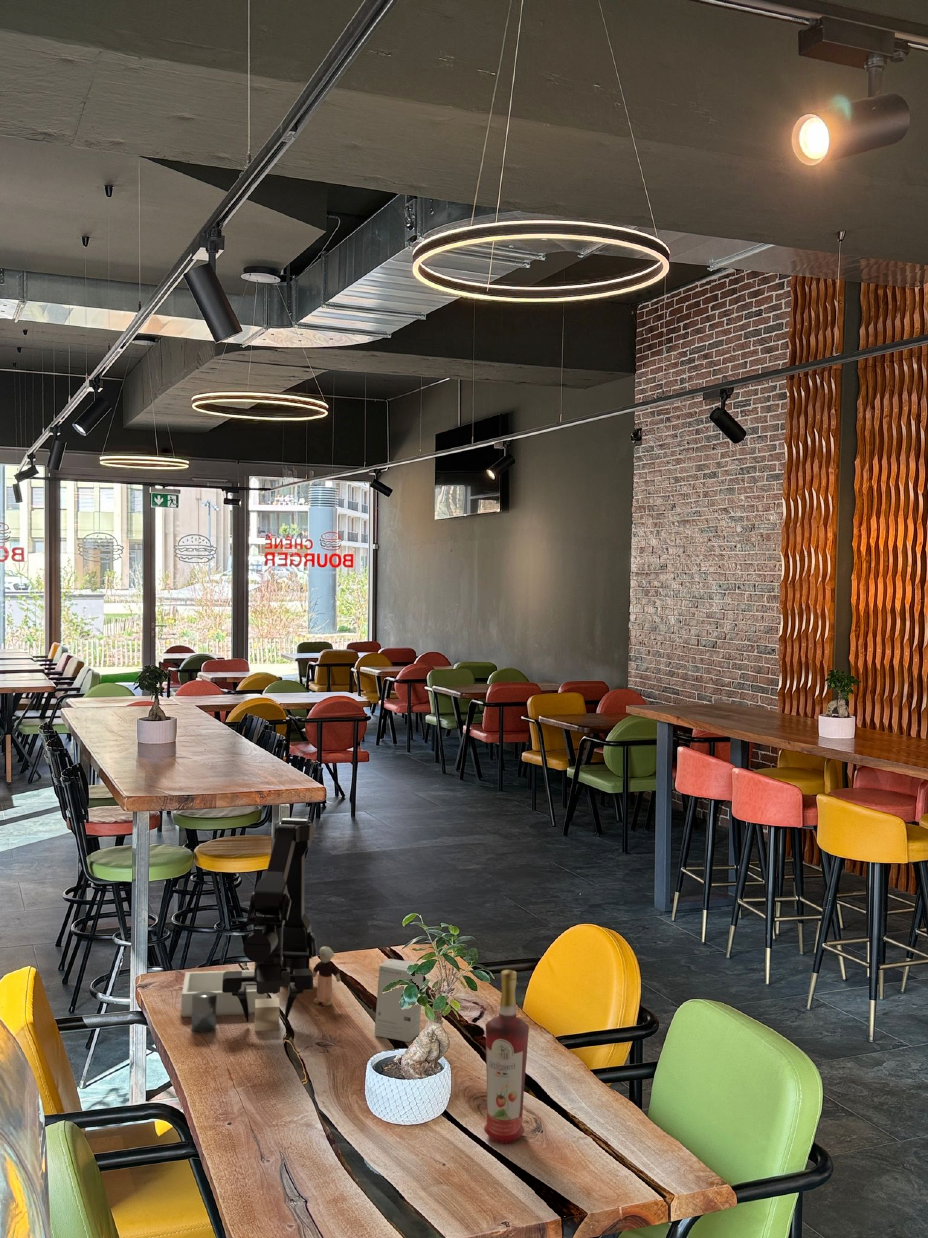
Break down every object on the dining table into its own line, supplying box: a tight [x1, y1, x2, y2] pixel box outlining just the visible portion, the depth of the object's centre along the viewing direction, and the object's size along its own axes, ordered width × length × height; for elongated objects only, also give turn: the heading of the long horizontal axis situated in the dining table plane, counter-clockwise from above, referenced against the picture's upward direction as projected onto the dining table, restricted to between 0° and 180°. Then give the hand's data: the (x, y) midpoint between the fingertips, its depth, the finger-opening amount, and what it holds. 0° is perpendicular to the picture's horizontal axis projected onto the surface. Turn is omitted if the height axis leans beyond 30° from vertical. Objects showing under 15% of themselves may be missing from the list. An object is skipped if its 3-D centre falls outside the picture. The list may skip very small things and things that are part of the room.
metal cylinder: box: [190, 991, 217, 1034], centre depth 228 cm, size 5×5×7 cm
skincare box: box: [374, 958, 424, 1043], centre depth 228 cm, size 8×6×15 cm
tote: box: [180, 969, 268, 1018], centre depth 242 cm, size 18×14×5 cm
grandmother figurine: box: [312, 946, 342, 1006], centre depth 245 cm, size 8×4×13 cm, turn 73°
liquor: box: [483, 969, 530, 1144], centre depth 185 cm, size 7×7×28 cm
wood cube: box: [254, 997, 280, 1032], centre depth 230 cm, size 5×5×5 cm
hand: (266, 1021), depth 230 cm, fingers open, 8 cm apart
